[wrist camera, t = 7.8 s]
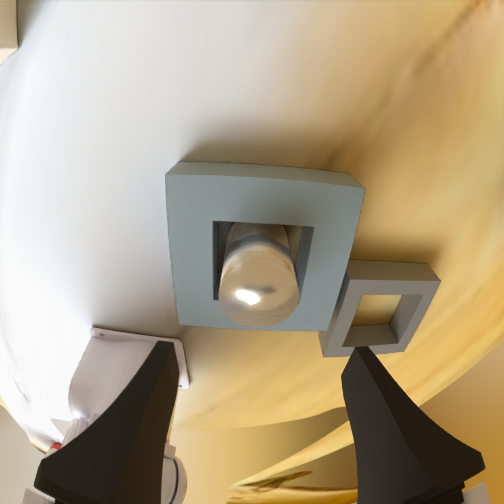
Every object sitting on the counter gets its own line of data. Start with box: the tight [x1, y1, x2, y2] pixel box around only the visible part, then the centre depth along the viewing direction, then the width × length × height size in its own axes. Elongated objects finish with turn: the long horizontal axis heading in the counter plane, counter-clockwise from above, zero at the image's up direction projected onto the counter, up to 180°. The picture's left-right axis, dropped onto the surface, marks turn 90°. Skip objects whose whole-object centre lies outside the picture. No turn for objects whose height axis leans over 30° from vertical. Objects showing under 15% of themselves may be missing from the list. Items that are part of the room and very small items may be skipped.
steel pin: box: [219, 222, 299, 328], centre depth 17 cm, size 4×4×6 cm
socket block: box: [165, 162, 365, 331], centre depth 18 cm, size 10×10×3 cm
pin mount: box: [319, 259, 441, 357], centre depth 21 cm, size 8×8×2 cm
